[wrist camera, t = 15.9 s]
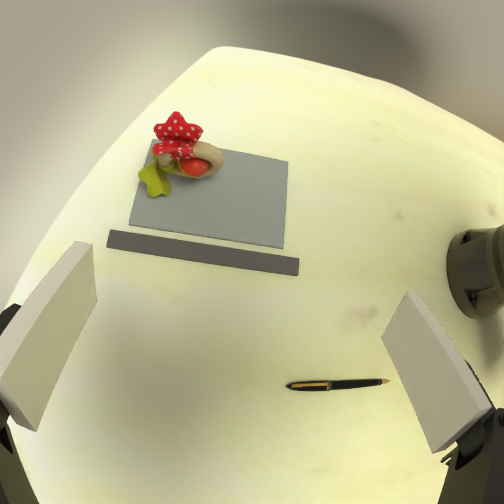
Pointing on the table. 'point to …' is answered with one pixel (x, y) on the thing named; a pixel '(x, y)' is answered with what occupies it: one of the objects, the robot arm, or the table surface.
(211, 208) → the mat
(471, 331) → the table surface
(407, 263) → the table surface
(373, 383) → the fountain pen
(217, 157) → the bird rattle
